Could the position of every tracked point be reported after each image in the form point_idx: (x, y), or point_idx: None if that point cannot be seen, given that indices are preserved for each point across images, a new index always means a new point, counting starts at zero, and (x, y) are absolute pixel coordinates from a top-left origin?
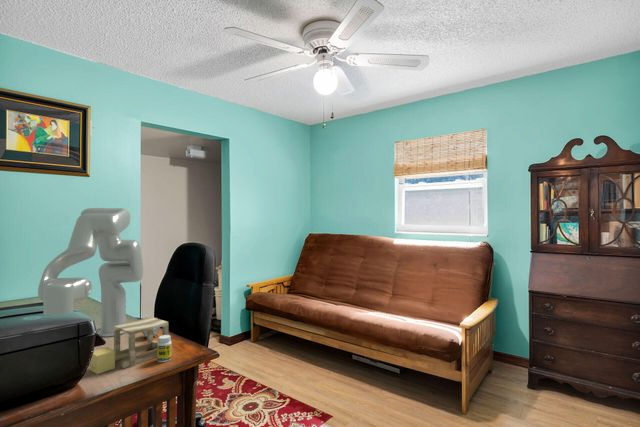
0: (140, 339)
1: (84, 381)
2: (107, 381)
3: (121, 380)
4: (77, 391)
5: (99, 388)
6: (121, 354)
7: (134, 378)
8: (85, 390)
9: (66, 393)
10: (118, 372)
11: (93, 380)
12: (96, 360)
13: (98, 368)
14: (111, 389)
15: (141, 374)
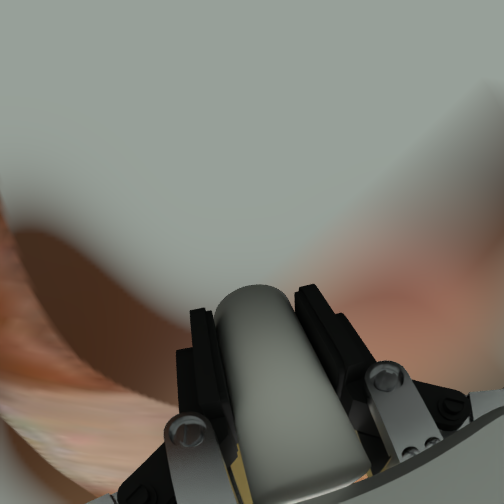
0: None
1: (176, 409)
2: (108, 449)
3: (91, 466)
4: (50, 372)
5: (46, 423)
6: None
7: (88, 479)
8: (47, 393)
9: (49, 333)
10: None
11: (159, 430)
12: (250, 502)
13: (232, 467)
14: (22, 435)
15: (112, 489)
